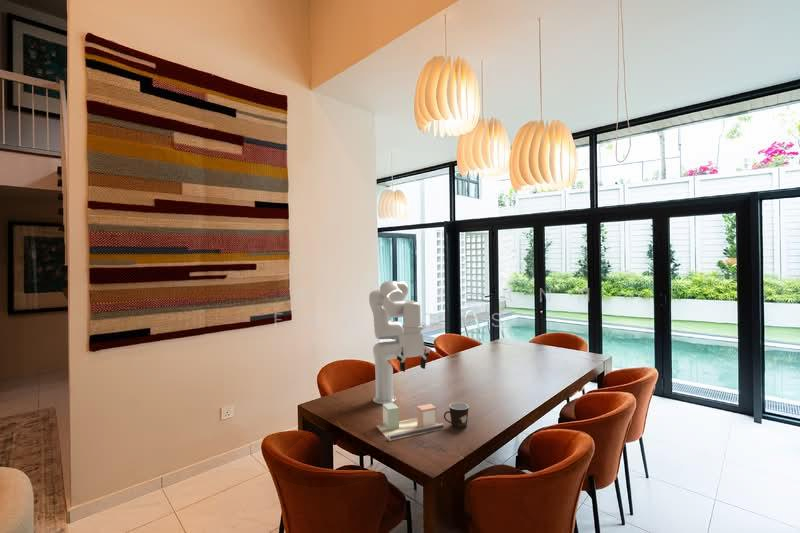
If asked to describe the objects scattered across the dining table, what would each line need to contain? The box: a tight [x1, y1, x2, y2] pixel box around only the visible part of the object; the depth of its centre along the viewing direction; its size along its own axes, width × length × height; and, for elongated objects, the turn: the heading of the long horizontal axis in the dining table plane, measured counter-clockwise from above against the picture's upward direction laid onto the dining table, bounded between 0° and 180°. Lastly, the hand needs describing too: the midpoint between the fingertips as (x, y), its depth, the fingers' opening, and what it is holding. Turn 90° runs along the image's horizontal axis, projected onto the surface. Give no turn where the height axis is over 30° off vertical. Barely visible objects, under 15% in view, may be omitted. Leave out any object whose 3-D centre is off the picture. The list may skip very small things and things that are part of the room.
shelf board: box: [376, 417, 445, 442], centre depth 168 cm, size 16×26×3 cm, turn 113°
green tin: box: [382, 402, 400, 430], centre depth 170 cm, size 7×5×9 cm
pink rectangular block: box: [416, 403, 437, 428], centre depth 168 cm, size 7×5×9 cm
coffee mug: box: [443, 402, 470, 430], centre depth 168 cm, size 12×9×10 cm
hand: (412, 369), depth 165 cm, fingers open, 9 cm apart
